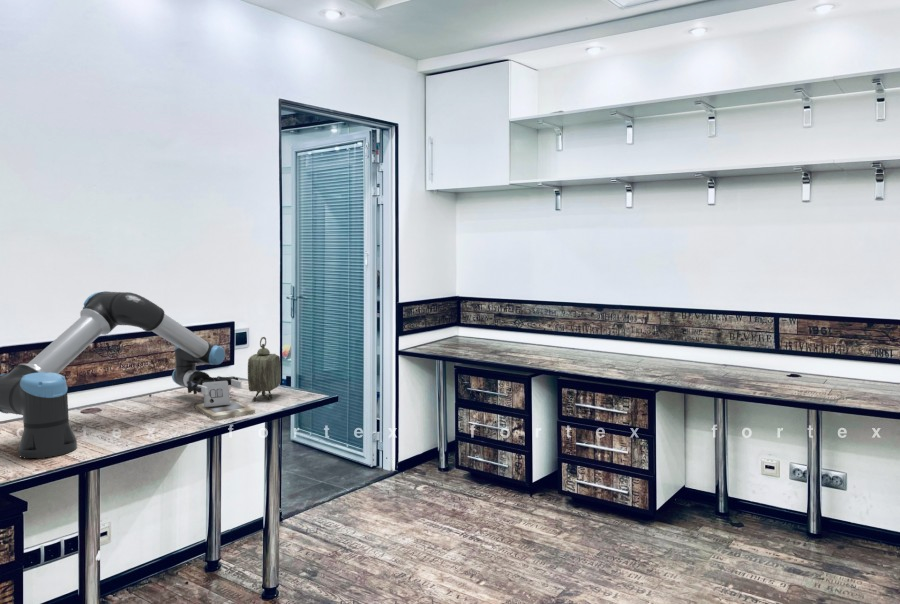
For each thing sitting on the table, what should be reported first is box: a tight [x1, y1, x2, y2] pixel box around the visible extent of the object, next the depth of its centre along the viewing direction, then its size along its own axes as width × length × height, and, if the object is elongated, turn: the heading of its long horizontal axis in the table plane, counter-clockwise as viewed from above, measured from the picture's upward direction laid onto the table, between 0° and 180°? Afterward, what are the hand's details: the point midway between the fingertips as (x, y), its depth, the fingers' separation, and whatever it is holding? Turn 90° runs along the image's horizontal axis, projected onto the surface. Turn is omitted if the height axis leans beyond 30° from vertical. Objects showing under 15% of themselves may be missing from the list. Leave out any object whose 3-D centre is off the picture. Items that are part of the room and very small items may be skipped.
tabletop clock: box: [247, 336, 282, 402], centre depth 262 cm, size 14×9×25 cm, turn 178°
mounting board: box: [194, 398, 256, 421], centre depth 243 cm, size 15×22×2 cm
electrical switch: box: [202, 381, 231, 407], centre depth 243 cm, size 9×5×9 cm, turn 124°
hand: (224, 387), depth 243 cm, fingers open, 13 cm apart
